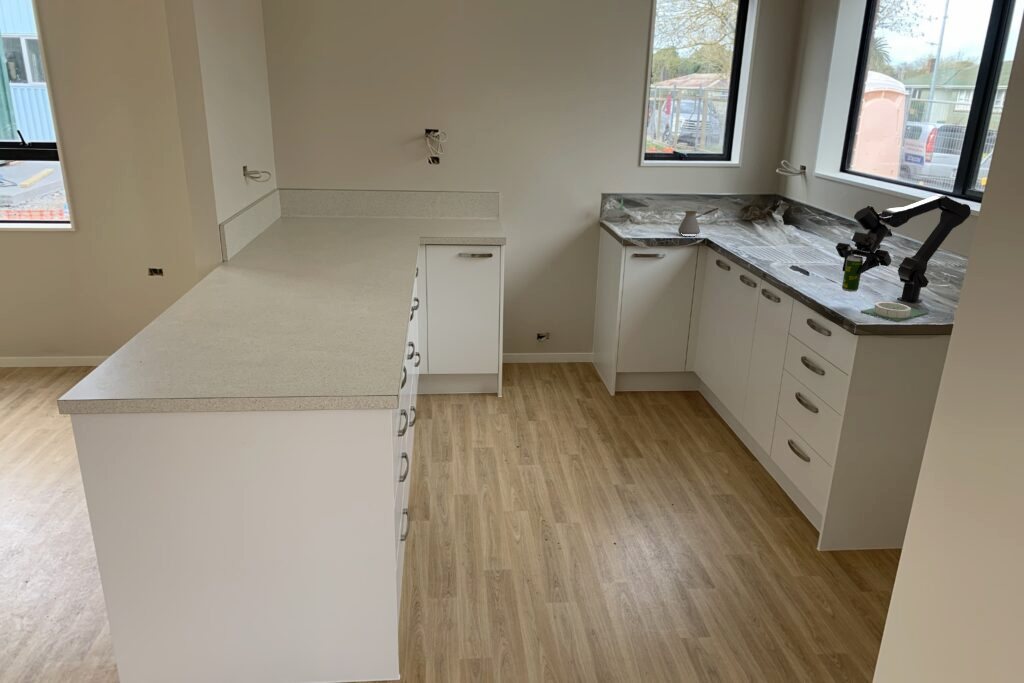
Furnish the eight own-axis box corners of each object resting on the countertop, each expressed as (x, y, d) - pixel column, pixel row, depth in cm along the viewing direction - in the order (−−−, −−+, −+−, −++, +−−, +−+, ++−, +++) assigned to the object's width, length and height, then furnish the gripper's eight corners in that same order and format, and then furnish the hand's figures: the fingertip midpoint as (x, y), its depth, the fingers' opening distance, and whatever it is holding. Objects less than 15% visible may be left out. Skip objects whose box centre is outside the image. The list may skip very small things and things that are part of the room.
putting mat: (892, 304, 264) (892, 303, 263) (928, 313, 253) (928, 312, 253) (860, 312, 253) (861, 310, 253) (897, 321, 243) (897, 320, 242)
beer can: (852, 288, 262) (858, 255, 258) (860, 291, 257) (866, 258, 253) (838, 288, 262) (844, 255, 258) (846, 292, 257) (852, 258, 253)
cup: (884, 307, 258) (886, 300, 257) (915, 314, 250) (917, 307, 249) (867, 311, 252) (868, 304, 251) (898, 319, 244) (899, 312, 243)
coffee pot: (682, 237, 381) (685, 209, 376) (674, 233, 392) (677, 205, 387) (720, 237, 384) (724, 209, 380) (711, 233, 395) (715, 206, 390)
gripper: (842, 219, 261) (819, 253, 259) (893, 227, 247) (869, 263, 244) (851, 239, 268) (829, 272, 266) (901, 248, 253) (878, 283, 251)
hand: (850, 272), depth 256 cm, fingers closed on beer can, 5 cm apart
